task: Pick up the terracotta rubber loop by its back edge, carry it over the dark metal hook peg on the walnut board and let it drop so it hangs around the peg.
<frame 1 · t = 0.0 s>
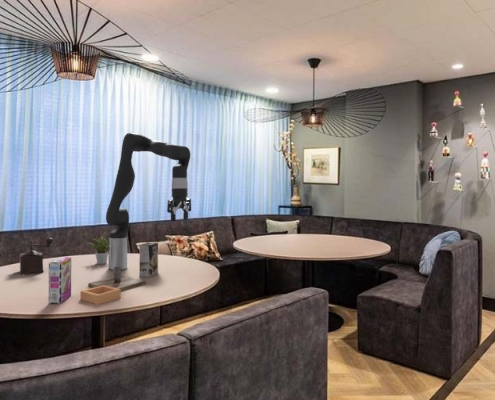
hand: (179, 220, 183), 29 cm above the table, tool pointing down, fingers open, 8 cm apart
candy bar box: (60, 300, 154), on the table
house plant: (103, 262, 224), on the table
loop: (100, 298, 156), on the table
manual coffee grinder: (37, 271, 200), on the table
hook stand: (117, 285, 176), on the table
coffee box: (149, 275, 196), on the table
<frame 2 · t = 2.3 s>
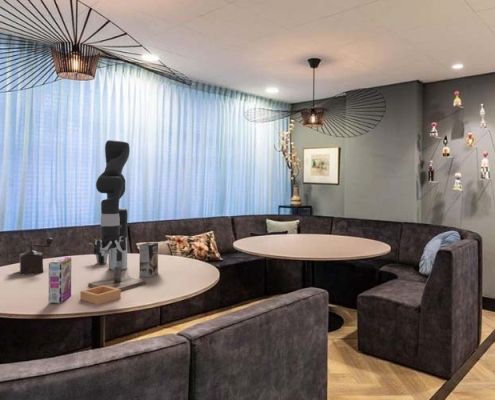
hand: (110, 262, 159), 14 cm above the table, tool pointing down, fingers open, 8 cm apart
nothing on the table moved.
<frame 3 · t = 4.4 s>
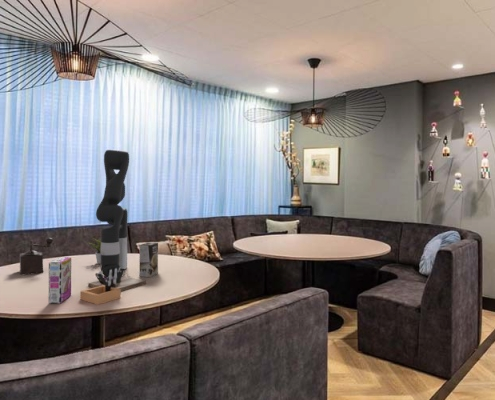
hand: (110, 293, 160), 1 cm above the table, tool pointing down, fingers closed on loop
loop: (100, 298, 156), on the table, touching gripper
everything else where it was.
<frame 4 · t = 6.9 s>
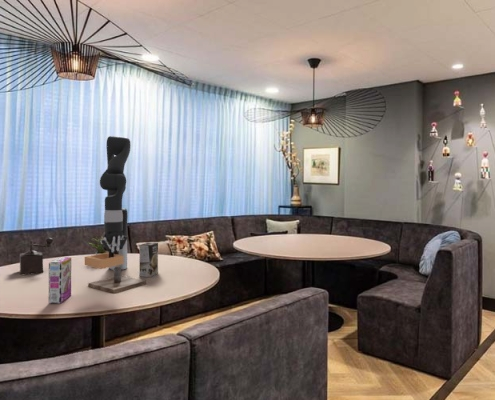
hand: (113, 259, 164), 14 cm above the table, tool pointing down, fingers closed on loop
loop: (104, 264, 160), point 13 cm above the table, touching gripper
everything else where it was.
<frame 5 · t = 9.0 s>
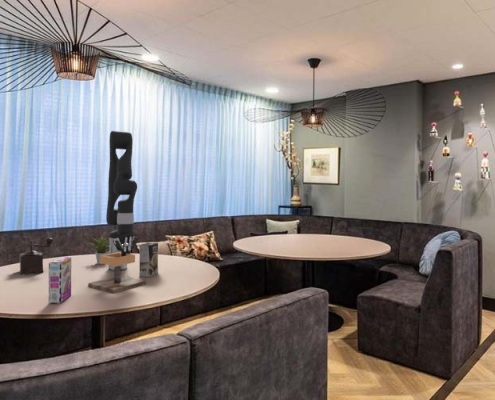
hand: (125, 258, 180), 12 cm above the table, tool pointing down, fingers closed on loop
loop: (117, 262, 176), point 10 cm above the table, touching gripper
everything else where it was.
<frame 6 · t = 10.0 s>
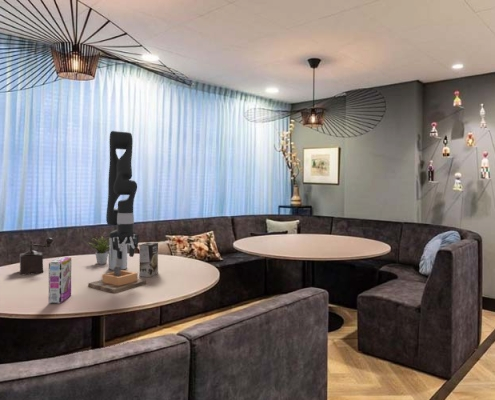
hand: (125, 257, 179), 12 cm above the table, tool pointing down, fingers open, 6 cm apart
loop: (120, 281, 177), point 1 cm above the table, touching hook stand
everything else where it was.
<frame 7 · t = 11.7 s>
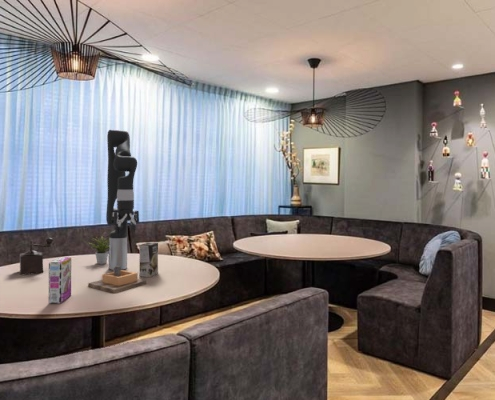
hand: (125, 233, 179), 24 cm above the table, tool pointing down, fingers open, 8 cm apart
nothing on the table moved.
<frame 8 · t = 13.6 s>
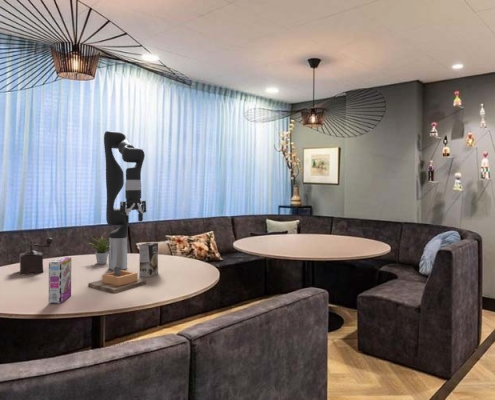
hand: (133, 222, 186), 28 cm above the table, tool pointing down, fingers open, 8 cm apart
nothing on the table moved.
at the end: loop 1.5 cm from the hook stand (horizontally); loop point 1.5 cm above the table; the gripper is holding nothing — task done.
